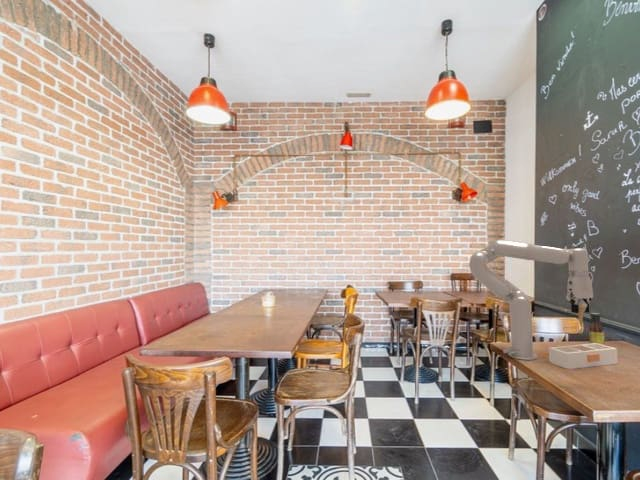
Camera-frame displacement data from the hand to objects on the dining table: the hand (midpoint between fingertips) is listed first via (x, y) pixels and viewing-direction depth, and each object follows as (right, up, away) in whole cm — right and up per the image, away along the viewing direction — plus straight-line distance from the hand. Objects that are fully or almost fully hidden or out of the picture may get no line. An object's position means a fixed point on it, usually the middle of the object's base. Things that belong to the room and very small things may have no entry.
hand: (580, 311), depth 164 cm
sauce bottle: (+21, -24, +16) cm, 36 cm away
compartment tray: (+1, -24, -1) cm, 24 cm away
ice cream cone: (0, -7, 0) cm, 7 cm away
